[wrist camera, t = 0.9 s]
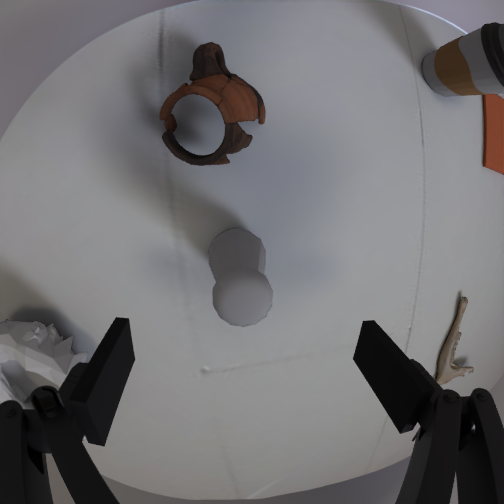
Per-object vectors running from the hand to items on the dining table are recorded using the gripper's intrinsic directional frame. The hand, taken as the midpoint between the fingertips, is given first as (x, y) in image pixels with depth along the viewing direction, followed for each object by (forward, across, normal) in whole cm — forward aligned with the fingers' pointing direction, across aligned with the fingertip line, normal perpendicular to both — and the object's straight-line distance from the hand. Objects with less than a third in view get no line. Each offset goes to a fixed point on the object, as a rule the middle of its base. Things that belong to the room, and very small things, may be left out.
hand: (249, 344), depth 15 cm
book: (+17, +42, +21) cm, 50 cm away
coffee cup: (+18, +25, +26) cm, 40 cm away
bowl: (+18, -27, -18) cm, 37 cm away
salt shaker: (+18, 0, 0) cm, 18 cm away
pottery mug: (+18, -3, +15) cm, 24 cm away
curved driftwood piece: (+18, +41, -15) cm, 47 cm away
